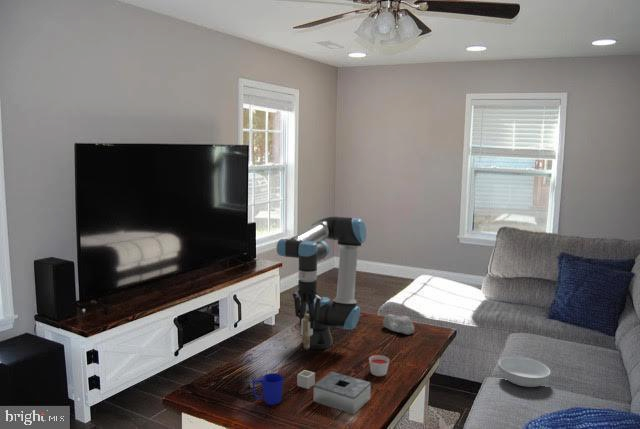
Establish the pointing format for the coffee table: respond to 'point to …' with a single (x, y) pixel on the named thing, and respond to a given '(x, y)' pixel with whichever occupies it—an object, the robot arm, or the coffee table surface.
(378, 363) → the candle
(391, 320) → the decorative stone
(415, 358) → the coffee table surface
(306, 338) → the peg
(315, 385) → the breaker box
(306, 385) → the hollow square box
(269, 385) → the mug
